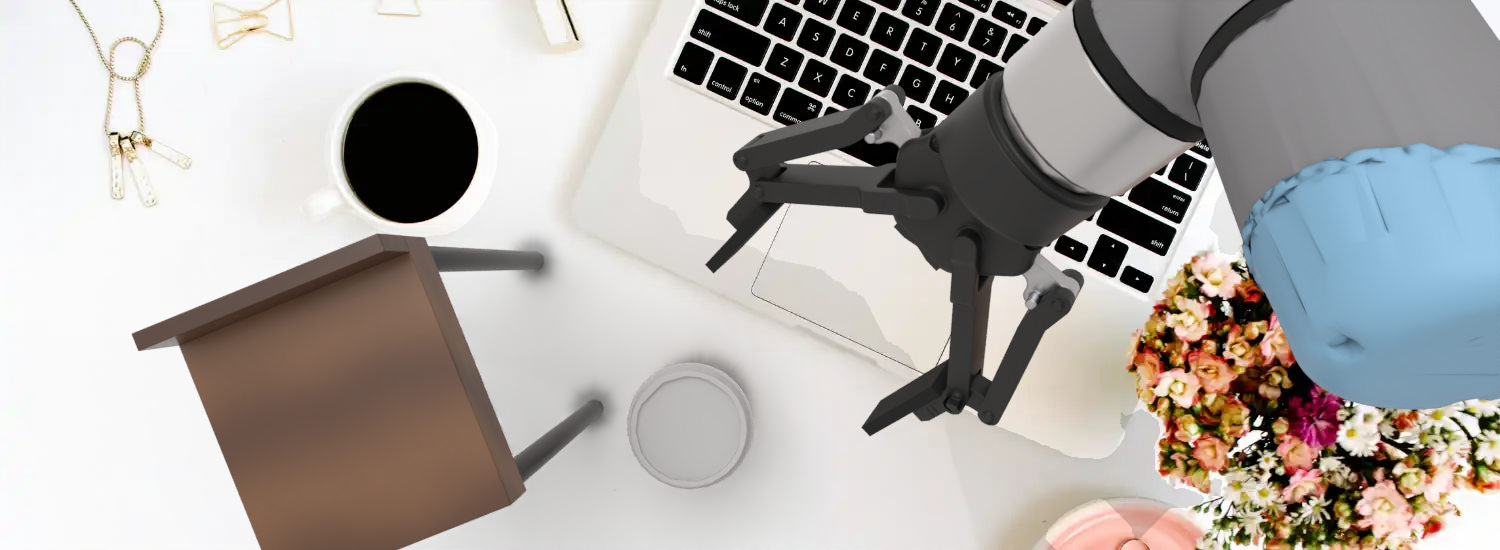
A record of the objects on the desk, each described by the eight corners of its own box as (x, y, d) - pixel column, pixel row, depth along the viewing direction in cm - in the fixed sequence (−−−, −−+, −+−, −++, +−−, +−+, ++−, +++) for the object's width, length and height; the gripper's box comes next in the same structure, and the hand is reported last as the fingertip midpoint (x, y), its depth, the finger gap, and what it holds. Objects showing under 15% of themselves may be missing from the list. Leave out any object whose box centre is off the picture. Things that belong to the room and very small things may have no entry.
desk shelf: (527, 490, 50) (493, 521, 44) (308, 577, 50) (245, 619, 44) (425, 236, 50) (377, 232, 44) (207, 325, 50) (130, 333, 44)
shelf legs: (606, 413, 75) (522, 488, 50) (464, 470, 75) (310, 572, 50) (540, 248, 75) (423, 241, 50) (398, 306, 75) (211, 327, 50)
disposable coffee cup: (739, 335, 74) (733, 349, 62) (769, 440, 74) (768, 474, 62) (635, 364, 75) (608, 384, 63) (664, 469, 75) (643, 508, 63)
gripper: (1270, 294, 39) (961, 445, 55) (895, -96, 39) (692, 166, 55) (1249, 391, 34) (915, 528, 50) (818, -57, 34) (618, 219, 50)
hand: (797, 338), depth 52 cm, fingers open, 13 cm apart
